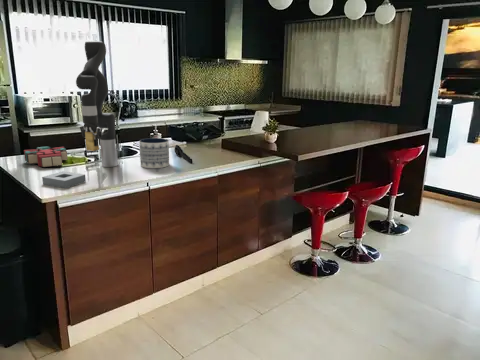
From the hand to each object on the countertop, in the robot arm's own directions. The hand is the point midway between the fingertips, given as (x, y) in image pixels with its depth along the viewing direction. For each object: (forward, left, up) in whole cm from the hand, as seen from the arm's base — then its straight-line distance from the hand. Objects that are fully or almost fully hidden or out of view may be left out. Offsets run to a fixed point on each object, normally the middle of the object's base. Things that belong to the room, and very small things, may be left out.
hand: (92, 145), depth 214 cm
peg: (0, 0, -2) cm, 2 cm away
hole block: (+13, -9, -19) cm, 25 cm away
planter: (-43, +10, -19) cm, 48 cm away
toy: (-17, -54, -20) cm, 60 cm away
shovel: (-69, +15, -20) cm, 74 cm away
